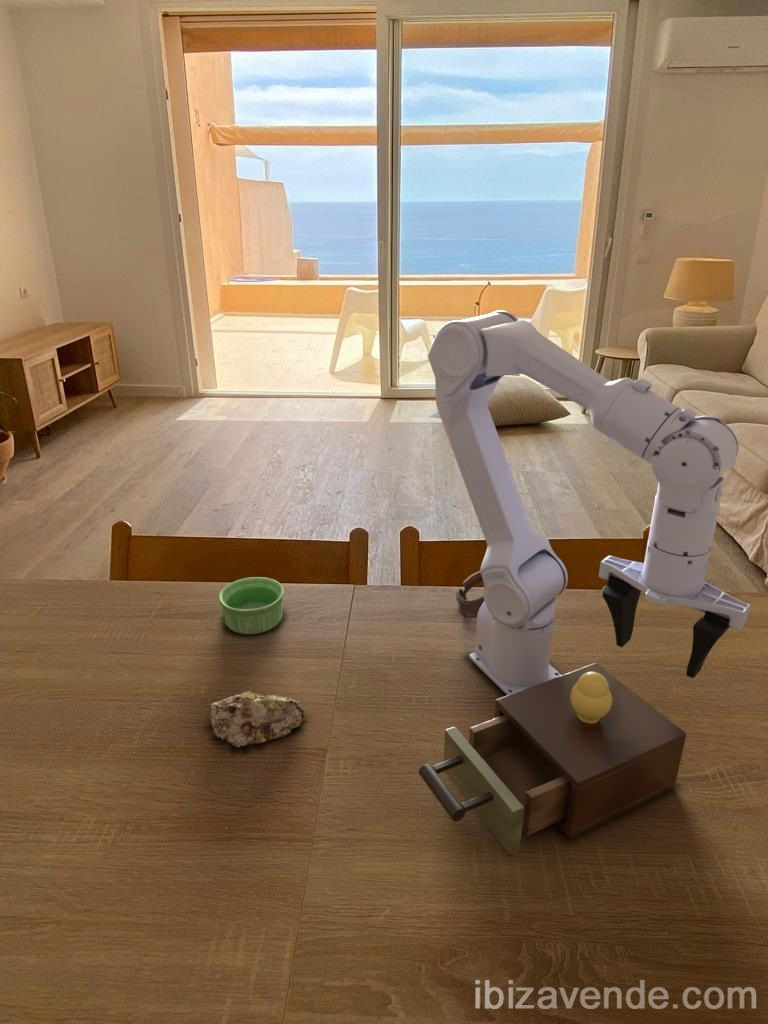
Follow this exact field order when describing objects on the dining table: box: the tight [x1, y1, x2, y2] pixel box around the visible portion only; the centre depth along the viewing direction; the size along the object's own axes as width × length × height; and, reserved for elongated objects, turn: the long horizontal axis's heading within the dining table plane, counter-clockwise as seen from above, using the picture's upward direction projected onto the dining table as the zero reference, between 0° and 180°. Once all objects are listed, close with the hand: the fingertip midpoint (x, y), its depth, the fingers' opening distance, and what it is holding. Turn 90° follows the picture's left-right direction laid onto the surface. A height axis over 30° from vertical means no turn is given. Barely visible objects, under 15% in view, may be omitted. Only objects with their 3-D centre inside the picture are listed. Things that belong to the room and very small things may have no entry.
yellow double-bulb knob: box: [570, 672, 612, 723], centre depth 69 cm, size 4×4×5 cm
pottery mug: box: [455, 570, 484, 619], centre depth 98 cm, size 12×10×8 cm
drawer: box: [418, 715, 572, 856], centre depth 67 cm, size 17×11×5 cm
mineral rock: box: [210, 690, 306, 748], centre depth 79 cm, size 11×4×8 cm
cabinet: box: [494, 662, 687, 839], centre depth 71 cm, size 14×13×7 cm
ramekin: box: [218, 576, 285, 635], centre depth 98 cm, size 9×9×4 cm
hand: (657, 657), depth 73 cm, fingers open, 7 cm apart
